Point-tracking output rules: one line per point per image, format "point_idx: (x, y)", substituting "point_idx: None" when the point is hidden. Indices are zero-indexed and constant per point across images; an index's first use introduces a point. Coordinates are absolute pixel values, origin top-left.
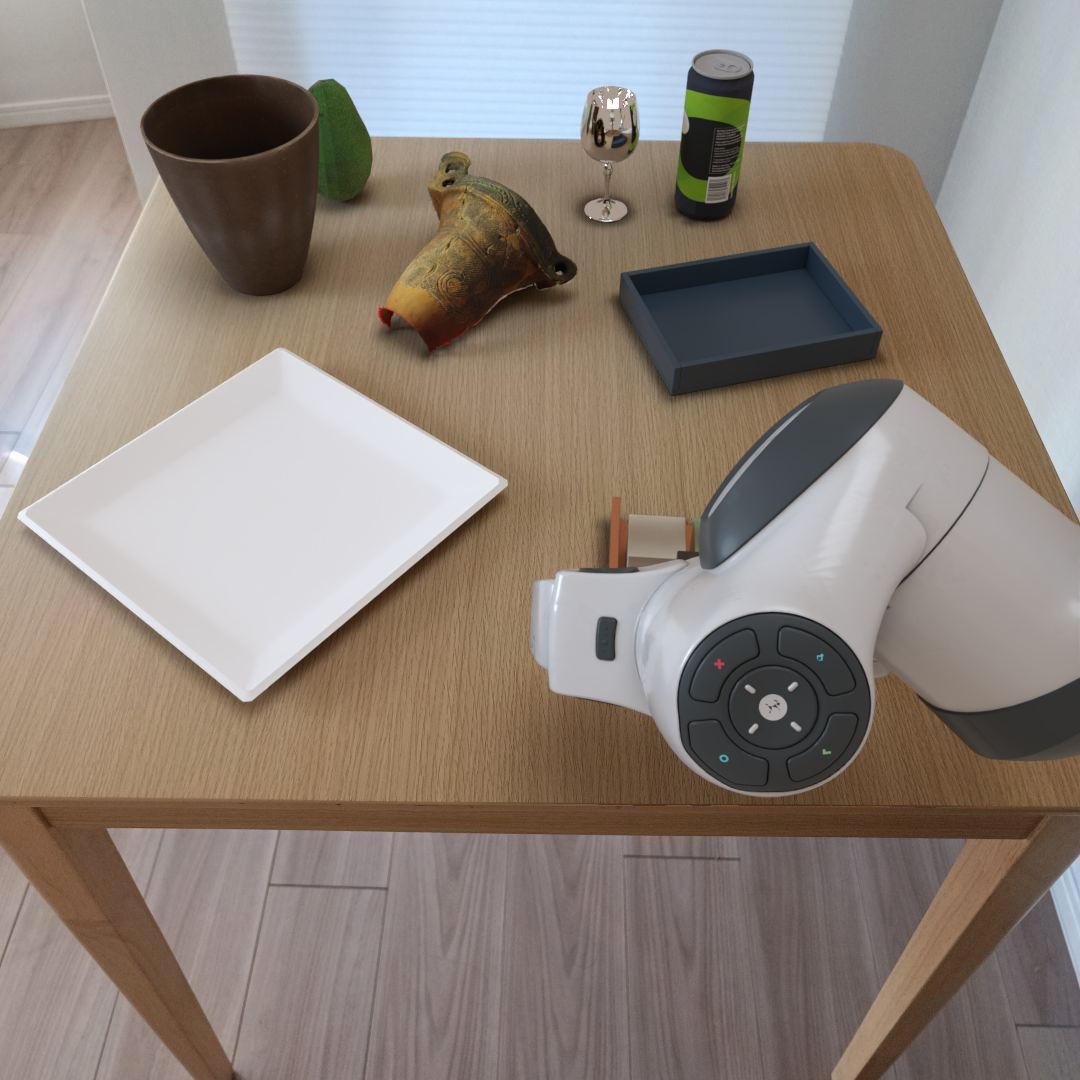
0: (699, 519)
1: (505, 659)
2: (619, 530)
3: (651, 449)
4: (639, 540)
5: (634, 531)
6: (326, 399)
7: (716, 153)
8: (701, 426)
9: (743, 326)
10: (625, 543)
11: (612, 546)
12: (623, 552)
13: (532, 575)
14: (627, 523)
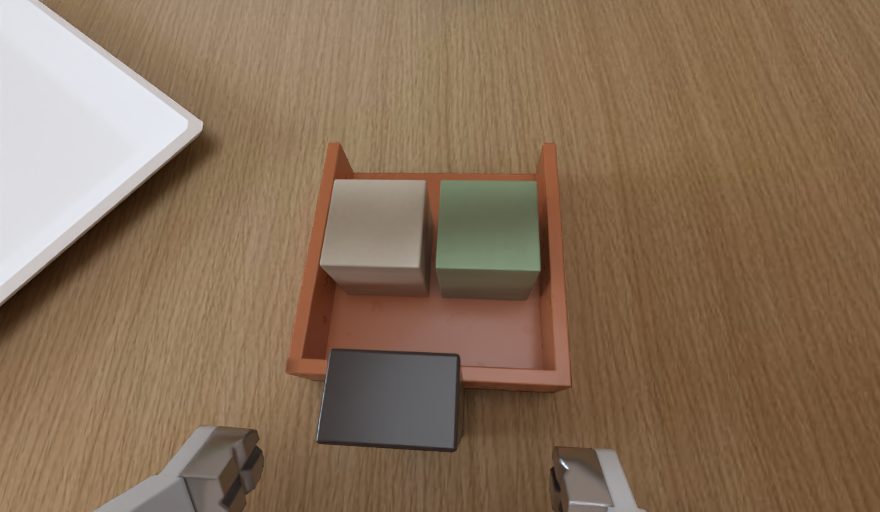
0: (449, 183)
1: (162, 418)
2: (330, 202)
3: (412, 63)
4: (343, 231)
5: (337, 213)
6: (22, 25)
7: None
8: (477, 27)
9: None
10: None
11: (314, 233)
12: None
13: (230, 264)
14: (365, 176)
